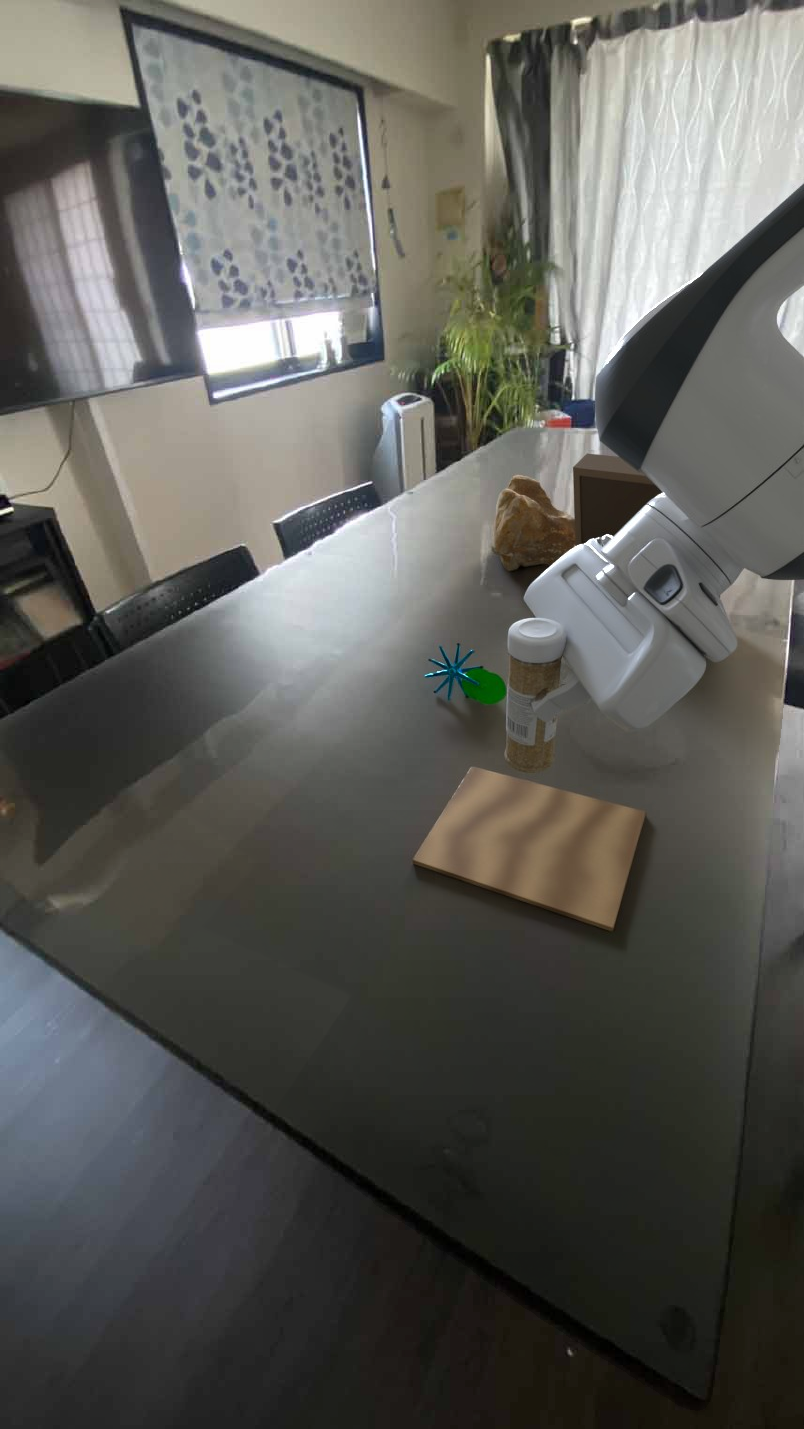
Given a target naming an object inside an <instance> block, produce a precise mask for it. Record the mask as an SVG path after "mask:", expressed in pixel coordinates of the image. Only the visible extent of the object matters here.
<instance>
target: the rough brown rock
mask: <svg viewBox="0 0 804 1429" xmlns="http://www.w3.org/2000/svg"><path fill="white" fill-rule="evenodd" d="M552 502H553V501H552V500H551V497H549V495H548V494H547V493H546V491H545V489H543V487H542V486H541V483H540V481H537V480H536V479H534V478H532V477H530V476H526V475H521V474H515V475H513V476H512V477H511V478H510V481H509V483H508V485H507V487H506V488H504V489H502V491H501V492H500V493H499V494H498V497H497V500H496V506H495V515H494V521H493V530H492V531H493V533H492V543H491V553H492V554H493V555H496V556H498V557H499V558H500V562H501V564H502V566H503V568H505V569H506V571H509V572H510V571H516V570H518V569H519V567H521V566H522V567H524V568H525V567H532V566H533V567H534V566H538V565H548V566H549V567H550V566H551V565H552V564H553V563H554V562H556V561H557V560H558V559H559V558H560V557H562V556H563V555H564V554H565V553H566V552H568V551H569V550H571V549H572V548H574V547H575V519H574V517H573V516H572V515H571V514H569V513H568V512H566V511H565V510H559V509H558V508H557V507H556V506H554V503H552Z"/></svg>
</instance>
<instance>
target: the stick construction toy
mask: <svg viewBox="0 0 804 1429" xmlns="http://www.w3.org/2000/svg"><path fill="white" fill-rule="evenodd" d="M461 646H462V645H461V643H460V642H457V643H456V649H455V655H454V660H453V663H452V661H451V660H450V658H449V657H448V655H447V653H446V652H445V649H444V647H443V645H438V649H439V652H440V654H441V656H442V658H443V660H444V663H445V664H444V663H442V662H440V661H437V660H435V659H432V658H428V659H427V661H428V662H430V663H432V664H434V665H435V666H437V667H439V668H441V669H442V670H441V671H437V672H433V673H429V674H428V673H427V674H425V675H424V676H423V678H425V679H430V678H438V677H445V679H444V680H443V681H442V682H441V683H440V684H439V685H438V687H436V689H435V690H433V694H438V693H439V692H440V691H441V690H442V689H443V688H444V687H445V686H446V685H447V684H448V686H447V697H446V701H448V702H451V701H452V699H451V698H452V693H453V687H454V683H455V681H456V683H457V684H458V686H459V688H460V689H461V691H462V693H463V695H464V698H465V699H471V700H473V701H477V702H479V703H481V704H483V705H489V706H490V705H495V704H498V703H500V702H501V701H502V700H504V698H506V697H507V686H506V683H505V681H504V679H503V678H502V677H501V675H499V674H497V673H496V672H491V671H489V670H487V669H485V667H484V665H477V666H470V667H463V665H465V663H466V662H467V661H468V659H469V658H470V657H471V656H472V655H473V654H475V652H476V650H474V649H470V650H469V652H467V654H466V655H464V656H463V657H462V658H461V659H460V655H461ZM462 667H463V668H462Z"/></svg>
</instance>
